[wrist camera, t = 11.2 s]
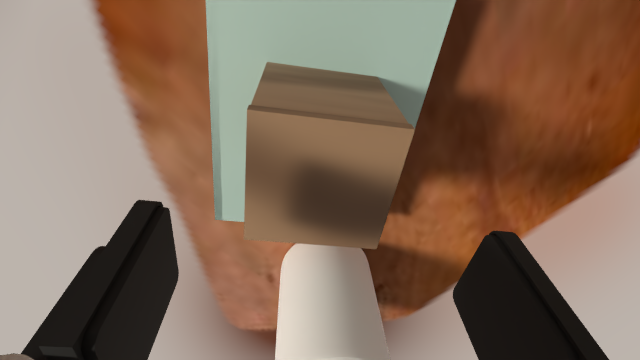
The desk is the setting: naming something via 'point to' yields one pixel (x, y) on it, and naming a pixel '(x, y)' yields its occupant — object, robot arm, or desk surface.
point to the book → (311, 62)
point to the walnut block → (321, 157)
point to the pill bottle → (328, 306)
